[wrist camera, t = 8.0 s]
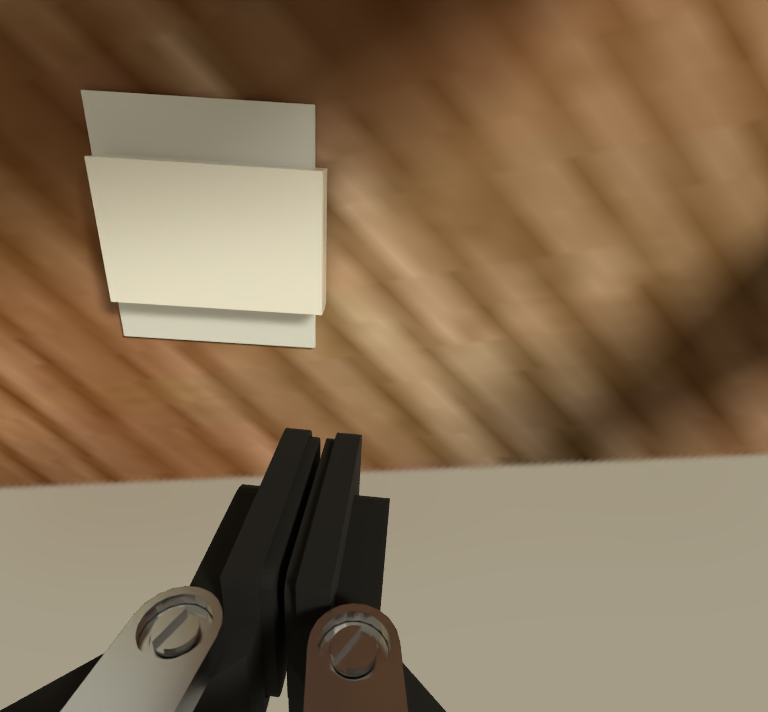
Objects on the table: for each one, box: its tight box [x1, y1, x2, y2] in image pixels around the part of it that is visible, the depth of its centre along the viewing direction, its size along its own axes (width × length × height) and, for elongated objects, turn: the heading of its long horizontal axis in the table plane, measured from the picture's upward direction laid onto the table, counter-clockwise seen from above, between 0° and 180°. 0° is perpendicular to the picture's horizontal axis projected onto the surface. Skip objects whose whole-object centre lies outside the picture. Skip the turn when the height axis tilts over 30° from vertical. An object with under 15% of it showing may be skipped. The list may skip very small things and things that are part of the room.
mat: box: [81, 90, 316, 348], centre depth 34 cm, size 14×16×1 cm
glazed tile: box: [84, 154, 327, 315], centre depth 33 cm, size 2×9×14 cm
